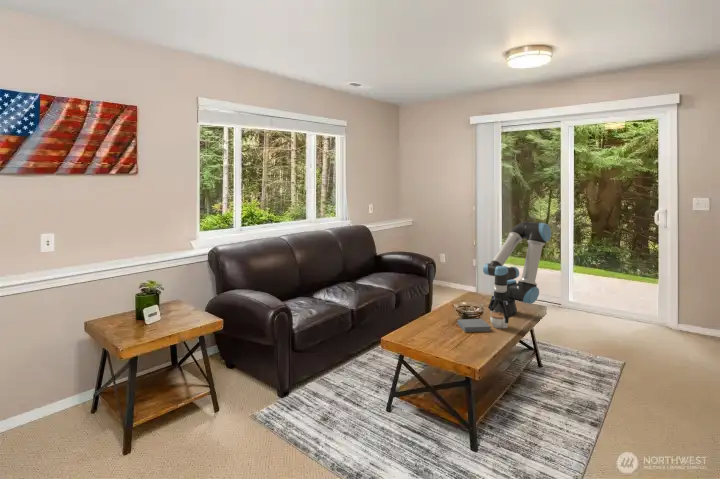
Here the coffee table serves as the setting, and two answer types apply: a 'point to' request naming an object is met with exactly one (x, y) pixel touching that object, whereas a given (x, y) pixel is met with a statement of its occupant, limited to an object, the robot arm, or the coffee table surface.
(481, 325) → the block
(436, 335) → the coffee table surface
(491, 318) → the lidded jar
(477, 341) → the coffee table surface
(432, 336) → the coffee table surface
